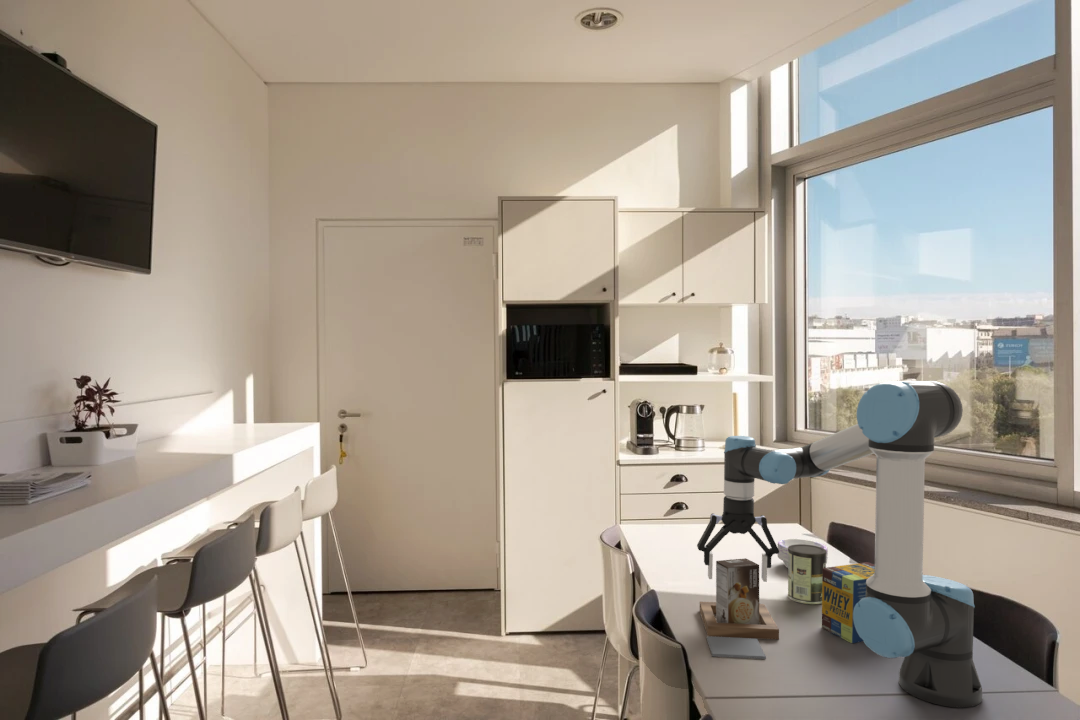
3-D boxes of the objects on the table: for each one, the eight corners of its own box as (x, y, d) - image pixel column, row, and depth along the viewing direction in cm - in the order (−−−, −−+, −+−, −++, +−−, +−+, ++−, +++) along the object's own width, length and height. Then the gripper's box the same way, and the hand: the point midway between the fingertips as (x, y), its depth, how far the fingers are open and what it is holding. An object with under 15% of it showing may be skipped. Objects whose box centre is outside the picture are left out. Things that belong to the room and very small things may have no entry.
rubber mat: (765, 659, 163) (765, 656, 163) (712, 656, 164) (712, 653, 164) (757, 641, 173) (757, 638, 173) (706, 638, 174) (706, 636, 174)
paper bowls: (838, 572, 226) (838, 548, 226) (800, 578, 220) (800, 552, 220) (803, 559, 240) (804, 535, 240) (767, 564, 234) (767, 540, 234)
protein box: (820, 628, 181) (821, 567, 181) (867, 620, 187) (868, 561, 187) (851, 644, 172) (852, 580, 171) (900, 635, 177) (901, 573, 177)
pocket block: (778, 639, 174) (779, 629, 174) (707, 636, 176) (708, 626, 176) (764, 613, 191) (764, 604, 191) (699, 610, 193) (699, 601, 193)
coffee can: (822, 593, 207) (822, 545, 207) (829, 606, 197) (829, 555, 197) (784, 590, 209) (785, 542, 209) (789, 603, 199) (790, 552, 199)
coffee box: (746, 618, 188) (747, 557, 187) (760, 627, 181) (760, 564, 181) (714, 621, 185) (715, 560, 185) (727, 631, 179) (728, 567, 179)
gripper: (785, 495, 185) (783, 576, 186) (687, 491, 188) (686, 571, 188) (792, 501, 178) (790, 586, 178) (690, 498, 180) (689, 581, 181)
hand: (736, 578), depth 183 cm, fingers open, 13 cm apart
